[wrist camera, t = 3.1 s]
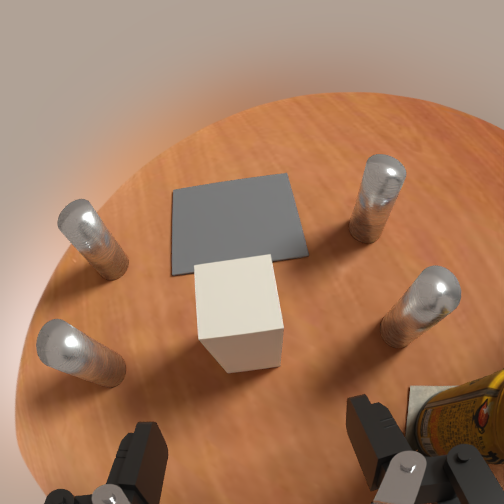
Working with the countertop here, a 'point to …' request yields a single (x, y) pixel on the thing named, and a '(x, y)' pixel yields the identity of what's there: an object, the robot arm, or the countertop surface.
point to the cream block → (239, 313)
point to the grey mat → (235, 222)
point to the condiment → (458, 418)
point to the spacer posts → (361, 228)
